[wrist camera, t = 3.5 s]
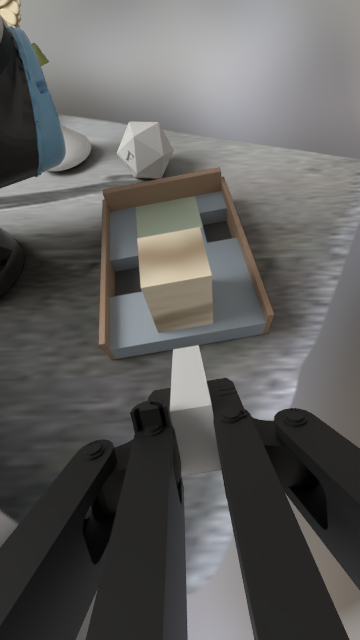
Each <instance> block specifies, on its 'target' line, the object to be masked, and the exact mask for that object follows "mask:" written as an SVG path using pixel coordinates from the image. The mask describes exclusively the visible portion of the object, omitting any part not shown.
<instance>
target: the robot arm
mask: <svg viewBox="0 0 360 640" xmlns="http://www.w3.org/2000/svg"><path fill="white" fill-rule="evenodd" d="M65 154H66V147H65V141H64V136H63V132H62V129H61V125H60V122H59V118H58V115H57V112H56V109H55V106H54V103H53V100H52V97H51V94H50V92H49V91H48V89H47V84H46V82H45V78H44V75H43V72H42V69H41V66H40V64H39V61H38V59H37V56H36V54H35V52H34V49H33V47H32V45H31V43H30V41H29V39H28V37H27V36H26V34H25V32H24V31H22V30H21V29H20V28H14V27H12V26H10V27H9V26H5V24H4V21H3V19H2V17H1V15H0V188H3V187H6V186H9V185H11V184H14V183H17V182H20V181H22V180H25V179H28V178H31V177H34V176H35V177H38V176H39V175H41V173H42V172H44V171H47V170H49V169H51V168H54V167H56V166H58V165H60V164H61V163H62V161H63V159H64V158H65ZM23 265H24V253H23V250H22V248H21V247H20V245H19V244H18V243H17V242H16V241H15V239H14V238H13V237H12V236H11V235H10V234H9V233H8V232H6V231H5V230H3V229H1V228H0V297H1V296H2V295H3V294H4V293H5V292H6V291H7V290H8V289H9V288H10V287H11V286H12V285H13V284H14V283H15V281H16V280H17V278H18V277H19V275H20V273H21V271H22V268H23ZM130 414H131V418H132V422H133V426H134V430H135V435H134V439H133V440H131V441H130V442H128V443H125V444H123V445H120V446H118V447H115V448H114V446H113V443H112V442H111V441H109V440H104V439H103V440H96V441H94V442H90V443H89V444H87V445H85V446H84V447H82V448H81V449H80V450H79V451H78V452H77V453H76V454H75V456H74V457H73V458H72V459H71V461H70V462H69V463H68V464H67V466H66V467H65V468H64V469H63V471H62V472H61V473H60V474H59V475H58V477H57V478H56V479H55V480H54V482H53V483H52V484H51V485H50V487H49V488H48V489H47V490H46V492H45V493H44V494H43V495H42V497H41V498H40V499H39V500H38V502H37V503H36V504H35V505H34V506H33V508H32V509H31V510H30V511H29V513H28V514H27V515H26V516H25V518H24V519H23V520H22V521H21V523H20V524H19V525H18V526H17V528H16V529H15V530H14V531H13V533H12V534H11V535H10V536H9V537H8V539H7V540H6V541H5V543H4V544H3V545H2V546H1V548H0V640H76V637H77V635H78V633H79V630H80V628H81V626H82V623H83V621H84V619H85V617H86V614H87V612H88V610H89V607H90V605H91V603H92V600H93V598H94V596H95V593H96V591H97V595H96V599H95V603H94V607H93V612H92V615H91V620H90V624H89V628H88V632H87V637H86V640H187V600H186V560H185V520H184V486H183V482H182V477H181V469H182V474H183V476H185V475H192V474H198V473H205V472H211V471H218V470H222V474H223V480H224V486H225V492H226V498H227V501H228V506H229V511H230V516H231V522H232V527H233V532H234V537H235V542H236V547H237V552H238V557H239V563H240V568H241V573H242V578H243V583H244V588H245V593H246V599H247V604H248V609H249V614H250V619H251V624H252V629H253V635H254V640H349V638H348V635H347V633H346V631H345V629H344V626H343V624H342V622H341V620H340V617H339V615H338V613H337V611H336V608H335V606H334V604H333V601H332V599H331V597H330V595H329V593H328V590H327V588H326V586H325V583H324V581H323V579H322V576H321V574H320V572H319V570H318V567H317V565H316V563H315V560H314V558H313V556H312V554H311V551H310V549H309V547H308V545H307V542H306V540H305V538H304V535H303V533H302V531H301V529H300V526H299V524H298V522H297V520H296V517H295V515H294V513H293V511H292V508H291V506H290V504H289V501H288V499H287V497H286V495H287V496H288V497H289V499H290V500H291V501H292V503H293V504H294V505H295V506H296V508H297V509H298V510H299V512H300V513H301V514H302V515H303V517H304V518H305V519H306V521H307V522H308V523H309V524H310V526H311V527H312V529H313V530H314V531H315V532H316V534H317V535H318V536H319V538H320V539H321V540H322V542H323V543H324V544H325V546H326V547H327V548H328V549H329V551H330V552H331V553H332V555H333V556H334V557H335V558H336V560H337V561H338V562H339V564H340V565H341V566H342V568H343V569H344V570H345V572H346V573H347V574H348V576H349V577H350V578H351V579H352V581H353V582H354V583H355V585H356V586H357V587H358V589H359V590H360V448H358V447H357V446H355V445H354V444H353V443H351V442H350V441H349V440H347V439H346V438H344V437H343V436H342V435H340V434H339V433H338V432H336V431H335V430H334V429H332V428H331V427H330V426H328V425H327V424H326V423H324V422H323V421H321V420H320V419H319V418H317V417H316V416H315V415H313V414H312V413H310V412H308V411H306V410H301V409H296V408H295V409H294V408H290V409H284V410H282V411H280V412H278V413H277V414H276V415H275V416H274V421H265V420H259V419H255V418H253V417H251V415H250V413H249V412H248V411H247V410H245V409H244V407H243V405H242V403H241V400H240V398H239V396H238V393H237V391H236V389H235V386H234V384H233V382H232V381H230V380H229V379H227V378H223V379H216V380H210V381H206V377H205V372H204V368H203V363H202V358H201V354H200V349H199V345H196V346H191V347H185V348H179V349H173V361H172V378H171V388H167V389H161V390H155V391H153V392H152V394H151V395H150V396H149V398H148V401H145V402H142V403H140V404H138V405H137V406H135V407H134V408H133V409H132V411H131V412H130ZM285 493H286V495H285ZM97 589H98V590H97Z"/></svg>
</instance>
